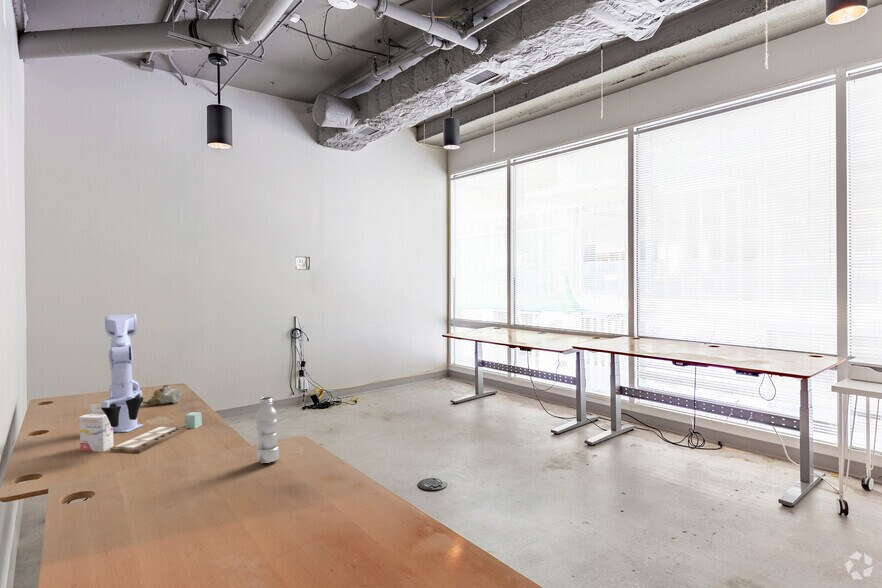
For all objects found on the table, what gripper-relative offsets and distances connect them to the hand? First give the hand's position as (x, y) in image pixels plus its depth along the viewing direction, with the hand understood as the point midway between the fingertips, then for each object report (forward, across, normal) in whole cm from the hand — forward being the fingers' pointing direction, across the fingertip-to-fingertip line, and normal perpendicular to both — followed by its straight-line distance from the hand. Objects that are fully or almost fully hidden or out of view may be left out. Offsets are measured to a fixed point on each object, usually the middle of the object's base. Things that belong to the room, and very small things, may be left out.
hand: (124, 423), depth 162 cm
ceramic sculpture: (+10, +54, +30) cm, 63 cm away
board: (+9, +10, -1) cm, 14 cm away
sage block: (+10, +26, -6) cm, 29 cm away
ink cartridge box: (+10, 0, +11) cm, 15 cm away
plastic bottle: (+10, -3, -53) cm, 54 cm away
